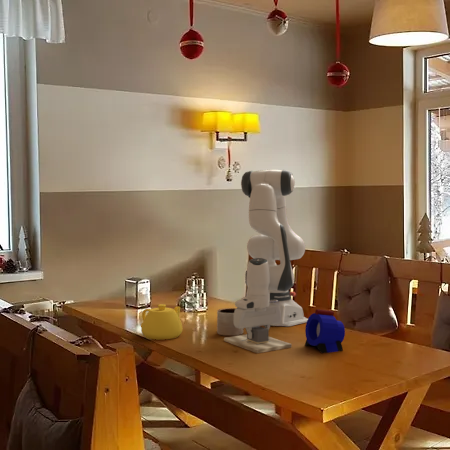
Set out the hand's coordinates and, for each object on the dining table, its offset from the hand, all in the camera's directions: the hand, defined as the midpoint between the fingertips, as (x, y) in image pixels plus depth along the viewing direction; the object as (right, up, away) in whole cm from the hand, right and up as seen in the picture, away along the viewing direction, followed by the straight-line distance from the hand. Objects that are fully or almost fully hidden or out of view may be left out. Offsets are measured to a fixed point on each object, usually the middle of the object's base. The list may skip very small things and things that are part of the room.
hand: (257, 337), depth 246 cm
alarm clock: (+25, -3, -5) cm, 26 cm away
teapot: (-38, -2, +17) cm, 42 cm away
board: (0, -3, +1) cm, 3 cm away
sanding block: (0, -2, 0) cm, 2 cm away
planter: (-10, -2, +18) cm, 21 cm away
